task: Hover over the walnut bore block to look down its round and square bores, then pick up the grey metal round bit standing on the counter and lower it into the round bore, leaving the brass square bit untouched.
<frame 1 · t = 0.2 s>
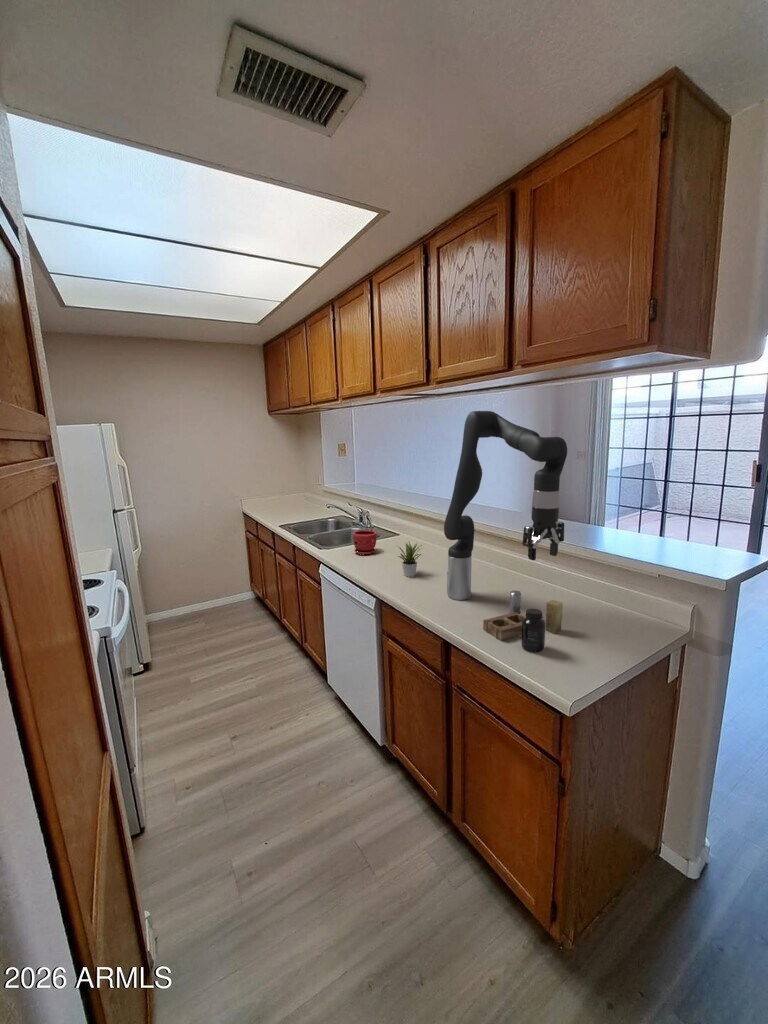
hand: (542, 557, 130), 28 cm above the counter, fingers open, 8 cm apart
plant pot: (365, 553, 239), on the counter
round bit: (514, 618, 152), on the counter
square bit: (553, 630, 143), on the counter
supplement bottle: (532, 648, 132), on the counter
house plant: (412, 576, 200), on the counter
bore block: (508, 630, 144), on the counter
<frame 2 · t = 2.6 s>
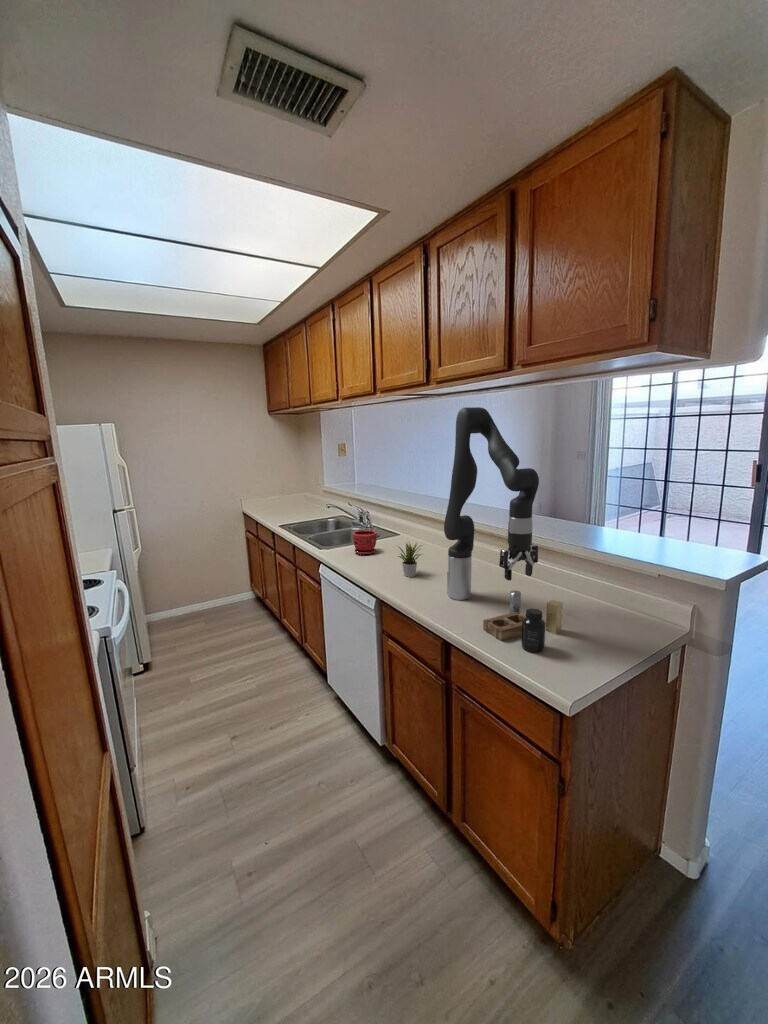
hand: (518, 577, 142), 18 cm above the counter, fingers open, 8 cm apart
nothing on the counter moved.
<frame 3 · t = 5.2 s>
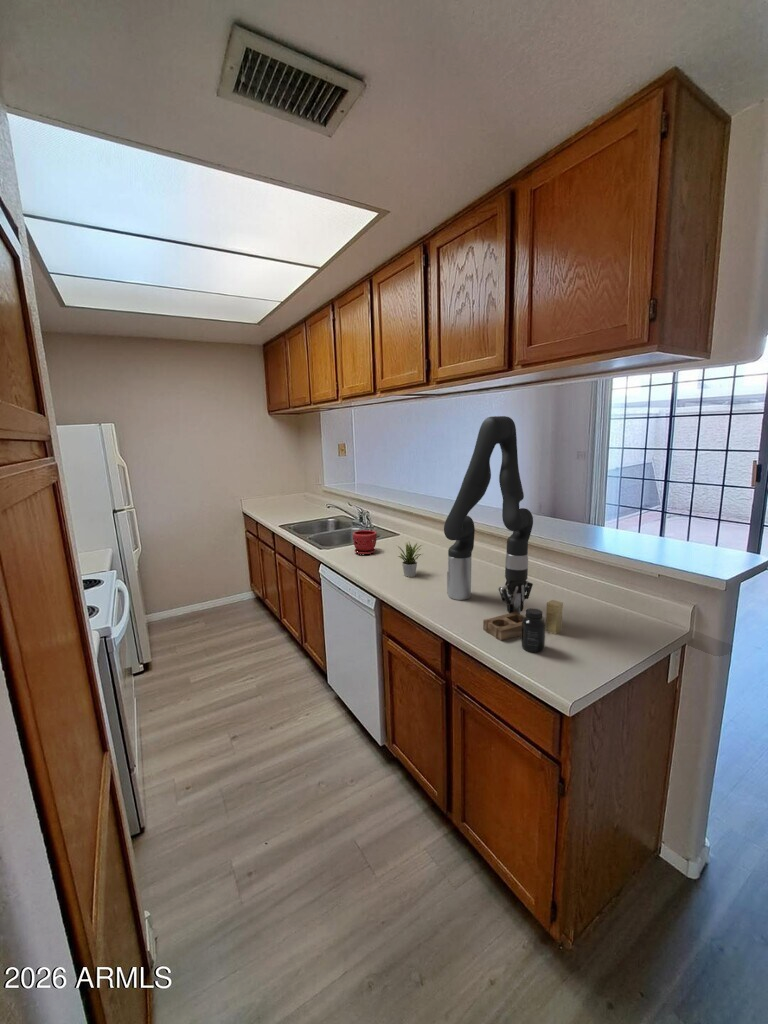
hand: (514, 611, 152), 3 cm above the counter, fingers closed on round bit, 3 cm apart
round bit: (514, 618, 152), on the counter, touching gripper
everything else where it was.
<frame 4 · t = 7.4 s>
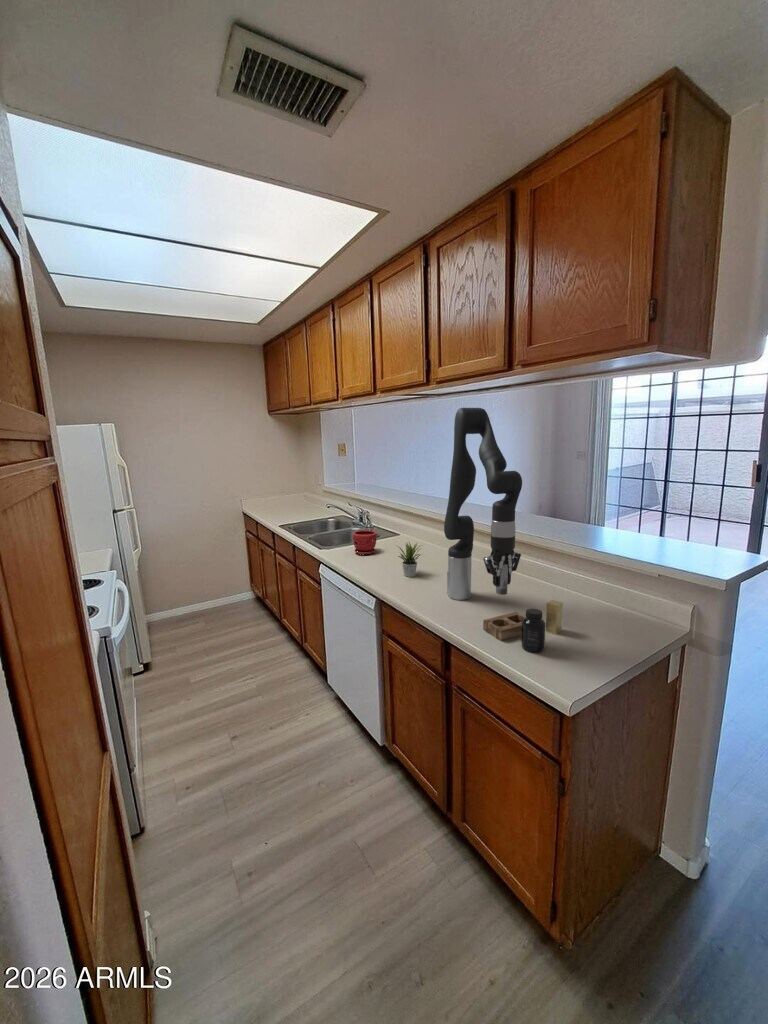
hand: (501, 584, 139), 17 cm above the counter, fingers closed on round bit, 3 cm apart
round bit: (501, 592, 140), point 14 cm above the counter, touching gripper
everything else where it was.
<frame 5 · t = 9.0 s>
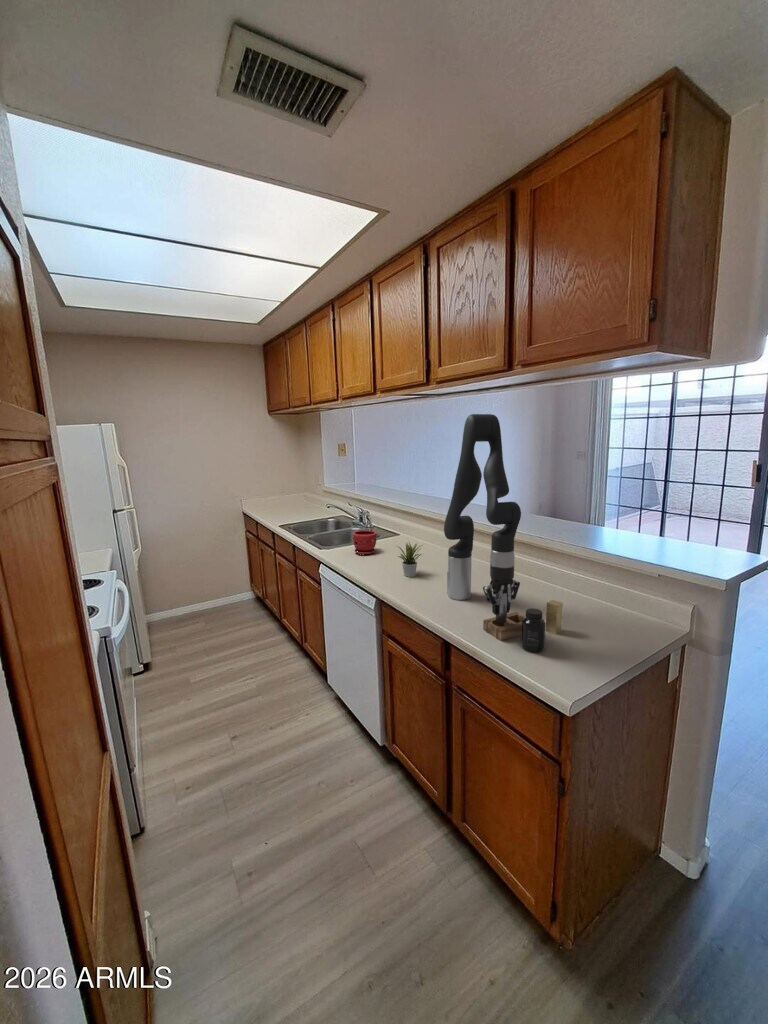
hand: (501, 613, 141), 7 cm above the counter, fingers closed on round bit, 3 cm apart
round bit: (501, 620, 141), point 4 cm above the counter, touching gripper
everything else where it was.
when the fingers open (4 cm above the counter, at t = 10.0 s): round bit drops 1 cm, resting on bore block.
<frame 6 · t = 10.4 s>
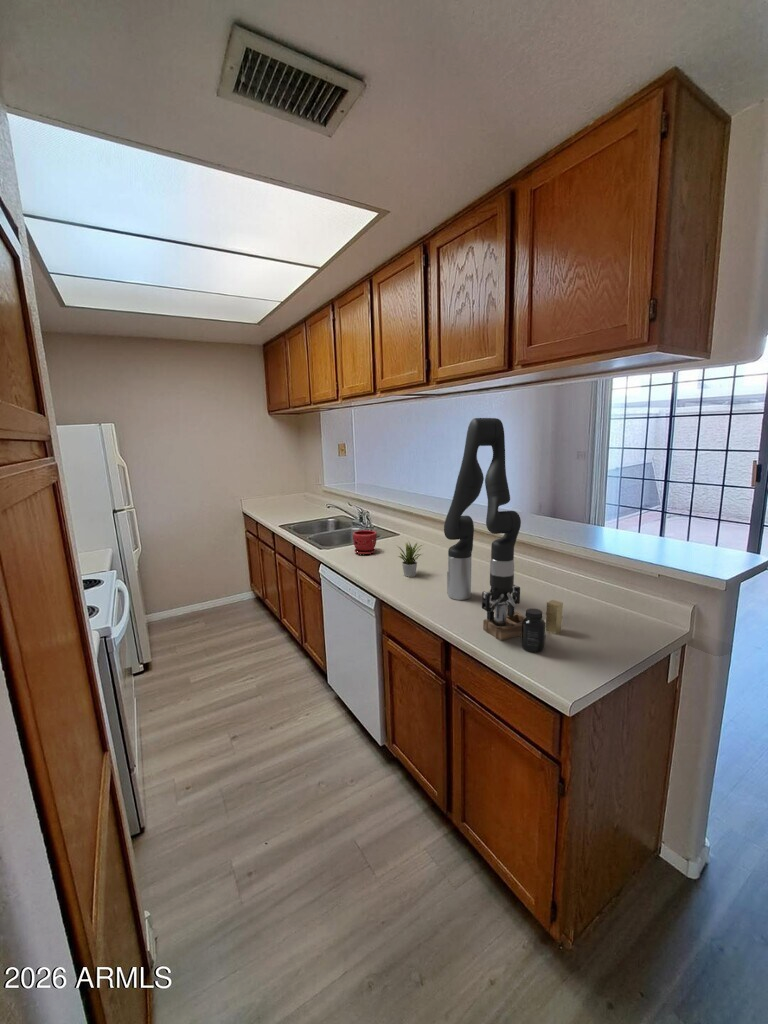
hand: (500, 618, 141), 5 cm above the counter, fingers open, 7 cm apart
round bit: (500, 632, 142), resting on bore block
everything else where it was.
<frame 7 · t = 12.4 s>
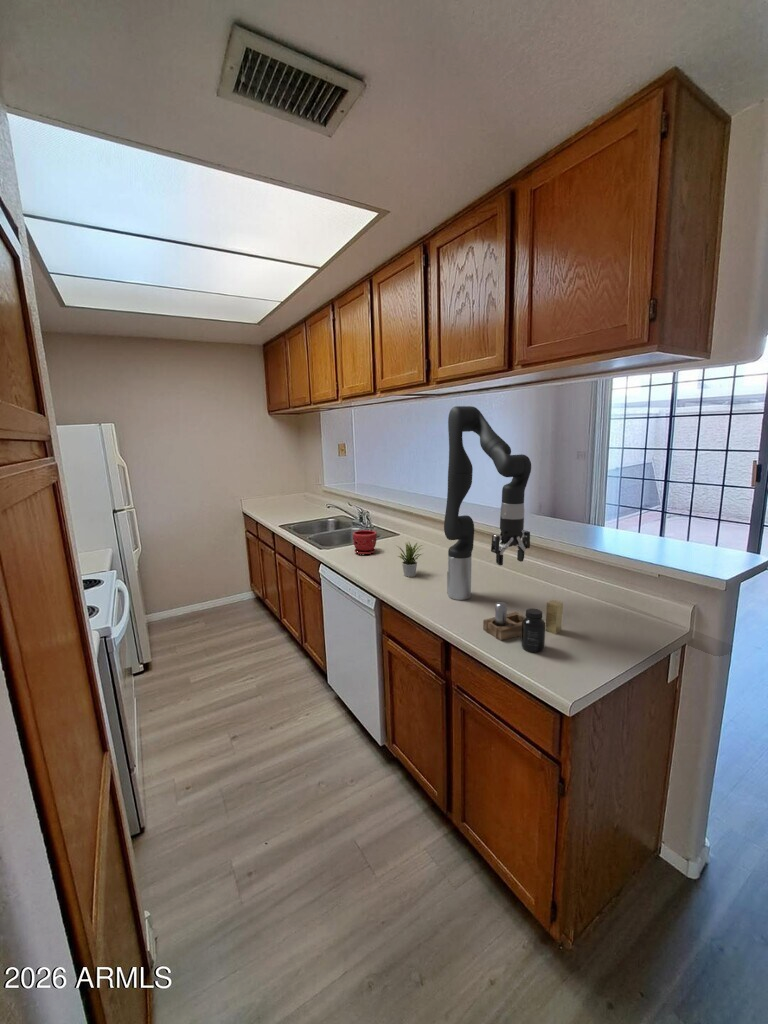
hand: (510, 562, 144), 22 cm above the counter, fingers open, 8 cm apart
nothing on the counter moved.
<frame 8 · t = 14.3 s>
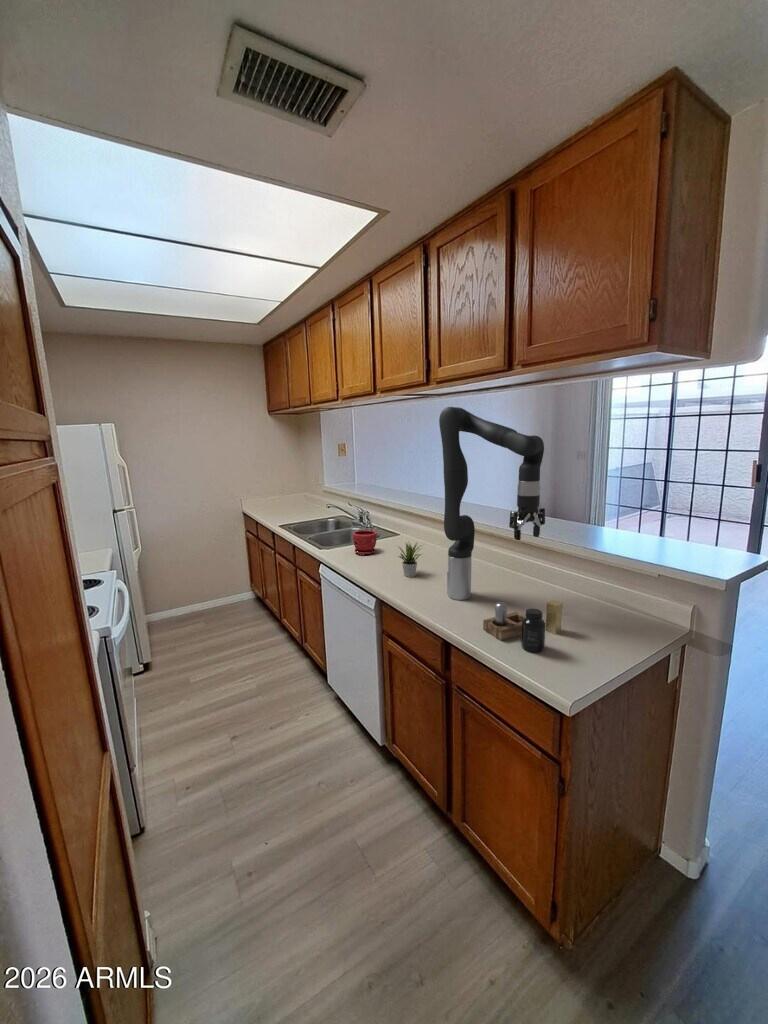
hand: (526, 538, 153), 28 cm above the counter, fingers open, 8 cm apart
nothing on the counter moved.
at the end: round bit 0.0 cm from the target spot on the bore block, point 0.2 cm above the bore block's base; round bit tilted 0°; the gripper is holding nothing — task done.
